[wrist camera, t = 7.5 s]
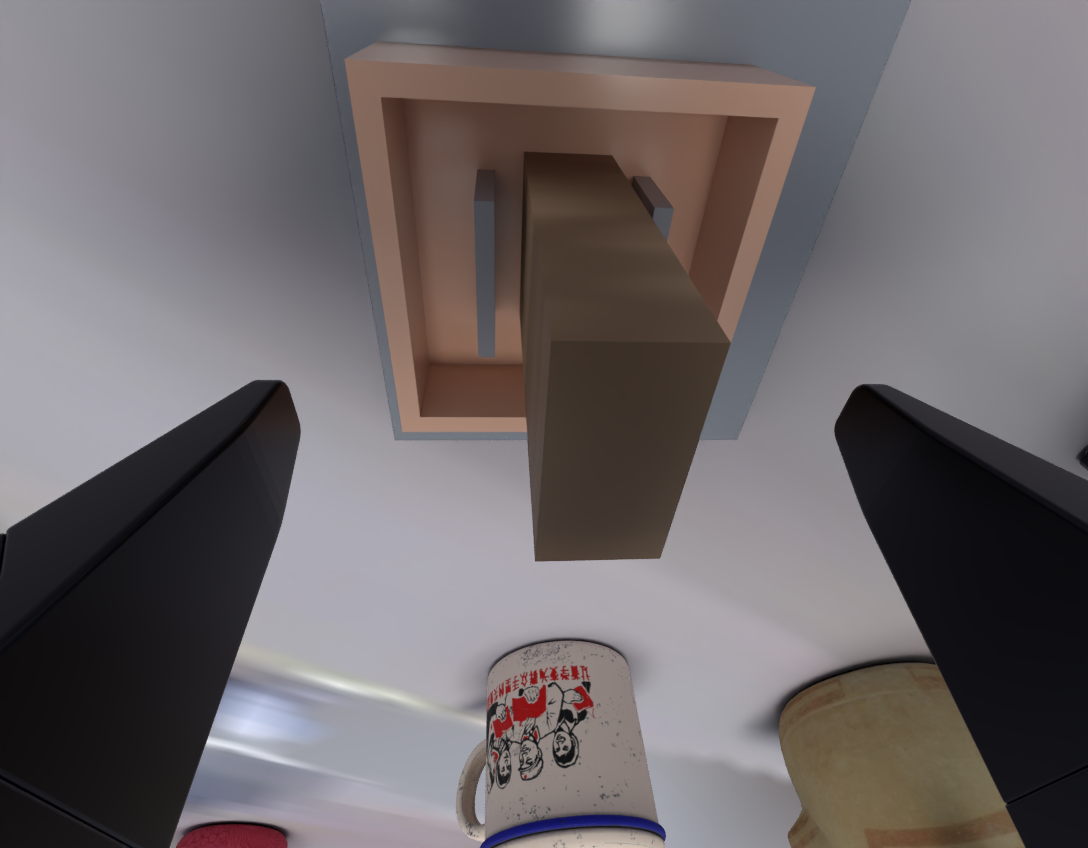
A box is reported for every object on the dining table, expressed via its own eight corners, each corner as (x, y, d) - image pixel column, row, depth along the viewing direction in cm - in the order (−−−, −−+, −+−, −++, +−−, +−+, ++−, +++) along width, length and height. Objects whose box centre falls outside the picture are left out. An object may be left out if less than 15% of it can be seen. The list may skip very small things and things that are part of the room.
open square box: (753, 64, 11) (816, 87, 9) (673, 369, 17) (701, 431, 14) (376, 41, 11) (344, 59, 8) (416, 366, 16) (402, 431, 14)
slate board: (925, -113, 11) (959, -120, 10) (728, 421, 20) (737, 439, 19) (305, -173, 9) (288, -185, 9) (399, 421, 19) (394, 440, 18)
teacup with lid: (581, 617, 28) (619, 912, 19) (657, 673, 33) (715, 927, 24) (415, 686, 32) (384, 957, 23) (506, 727, 37) (509, 962, 28)
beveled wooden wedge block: (612, 155, 12) (731, 342, 6) (591, 313, 14) (660, 558, 8) (523, 151, 12) (551, 340, 6) (519, 312, 14) (535, 561, 8)
